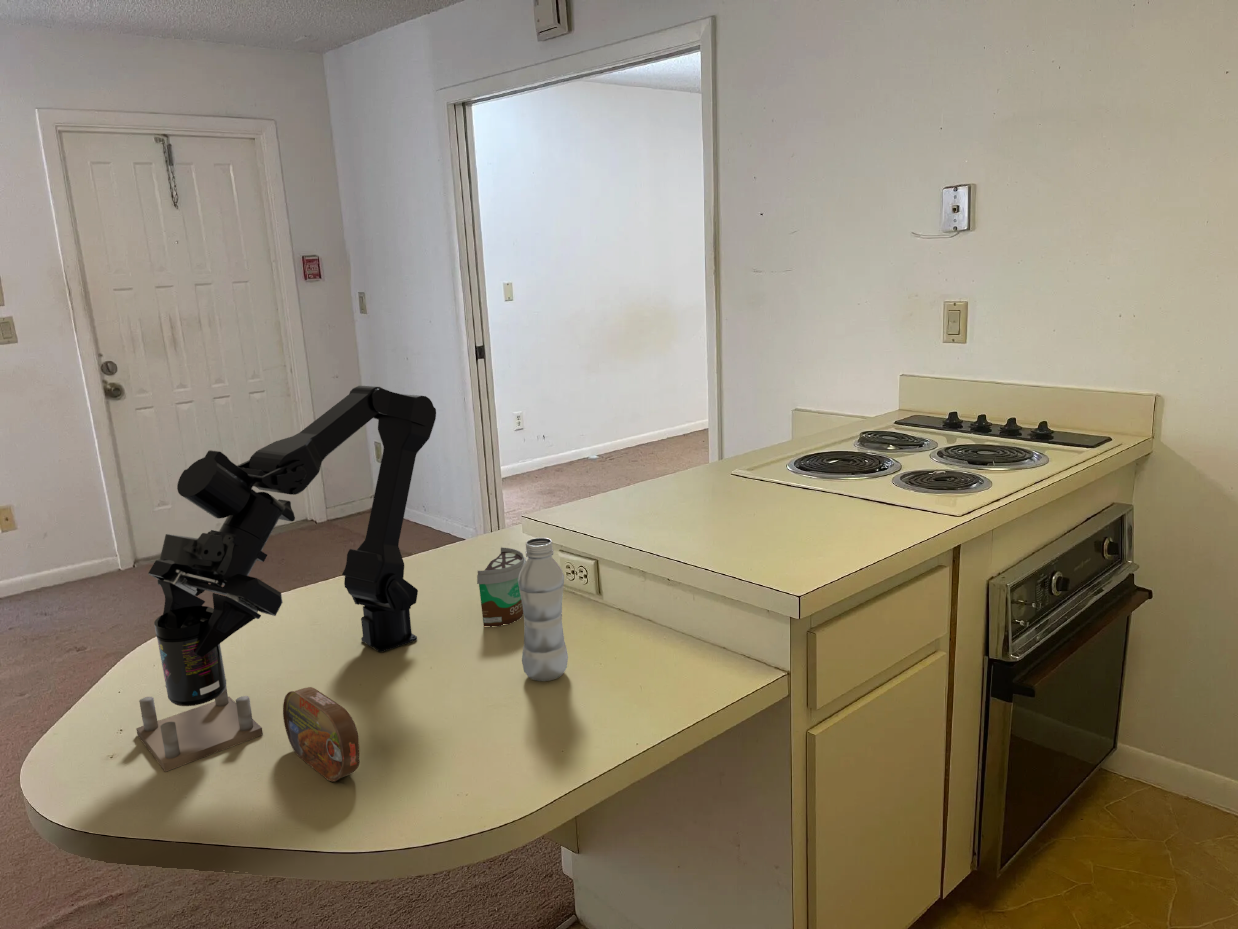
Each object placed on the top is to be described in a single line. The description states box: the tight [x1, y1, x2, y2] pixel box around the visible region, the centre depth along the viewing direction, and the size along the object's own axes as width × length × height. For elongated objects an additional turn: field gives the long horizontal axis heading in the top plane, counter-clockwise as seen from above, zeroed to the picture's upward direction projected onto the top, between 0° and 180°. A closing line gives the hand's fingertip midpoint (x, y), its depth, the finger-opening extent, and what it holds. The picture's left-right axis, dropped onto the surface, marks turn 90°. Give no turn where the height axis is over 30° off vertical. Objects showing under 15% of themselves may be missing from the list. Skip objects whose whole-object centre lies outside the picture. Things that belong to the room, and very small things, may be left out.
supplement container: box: [153, 605, 227, 707], centre depth 109 cm, size 7×7×10 cm
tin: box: [282, 686, 361, 782], centre depth 105 cm, size 15×3×8 cm, turn 44°
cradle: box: [135, 686, 264, 773], centre depth 113 cm, size 12×12×5 cm
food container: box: [476, 546, 527, 628], centre depth 146 cm, size 12×6×10 cm, turn 168°
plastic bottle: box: [518, 537, 569, 682], centre depth 124 cm, size 6×7×20 cm
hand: (179, 649), depth 108 cm, fingers closed on supplement container, 7 cm apart
